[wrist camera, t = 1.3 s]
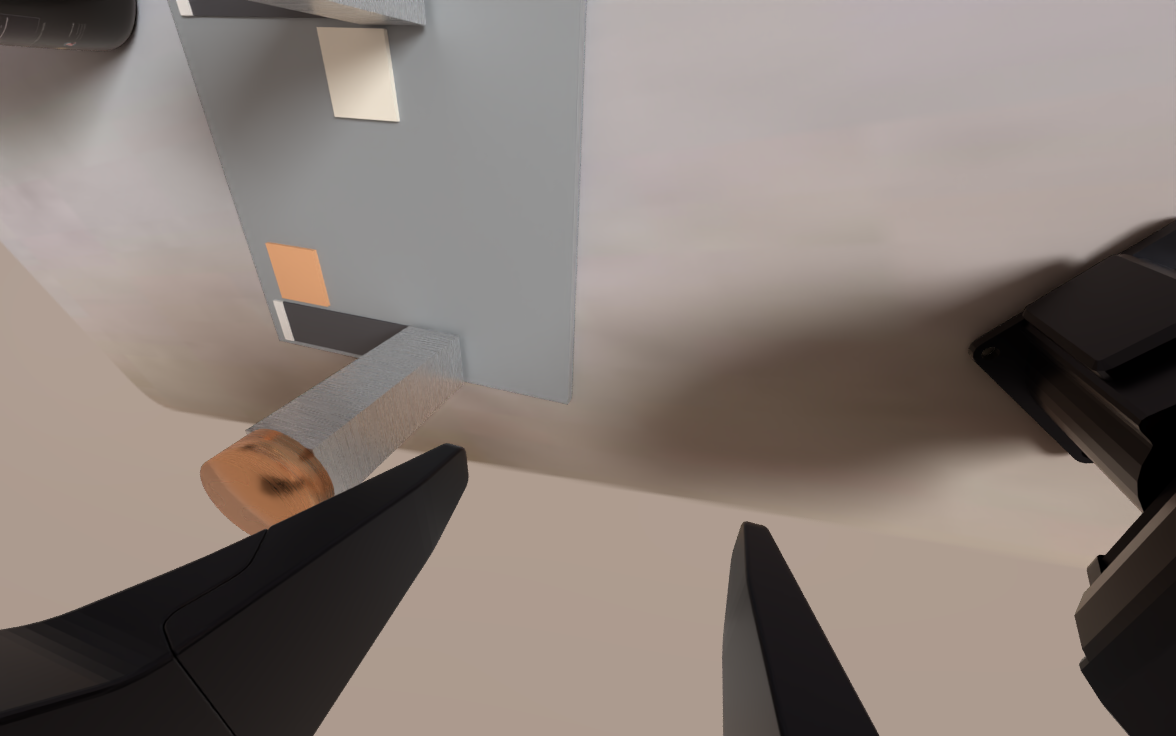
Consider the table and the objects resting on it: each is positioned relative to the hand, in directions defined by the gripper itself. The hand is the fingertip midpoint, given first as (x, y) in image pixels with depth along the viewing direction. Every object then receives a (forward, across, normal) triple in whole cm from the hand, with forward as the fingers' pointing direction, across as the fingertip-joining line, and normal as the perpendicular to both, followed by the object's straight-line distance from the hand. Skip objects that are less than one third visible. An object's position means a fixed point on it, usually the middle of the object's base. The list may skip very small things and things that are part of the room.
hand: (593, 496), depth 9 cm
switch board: (+12, +13, -3) cm, 18 cm away
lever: (+11, +11, +5) cm, 17 cm away
